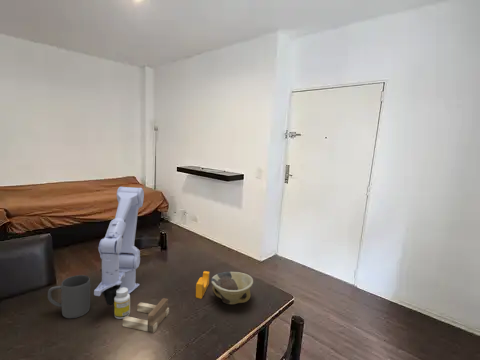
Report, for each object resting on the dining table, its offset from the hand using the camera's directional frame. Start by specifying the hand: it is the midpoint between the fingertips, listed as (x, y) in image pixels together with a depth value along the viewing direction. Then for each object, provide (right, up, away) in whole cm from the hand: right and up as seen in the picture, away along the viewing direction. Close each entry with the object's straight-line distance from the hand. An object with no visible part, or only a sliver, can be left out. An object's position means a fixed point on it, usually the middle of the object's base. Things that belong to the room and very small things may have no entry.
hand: (110, 303), depth 102 cm
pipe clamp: (+31, -3, +20) cm, 37 cm away
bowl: (+45, -5, +14) cm, 47 cm away
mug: (-15, -3, -1) cm, 15 cm away
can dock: (+14, -5, -2) cm, 15 cm away
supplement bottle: (+5, -4, -1) cm, 6 cm away
